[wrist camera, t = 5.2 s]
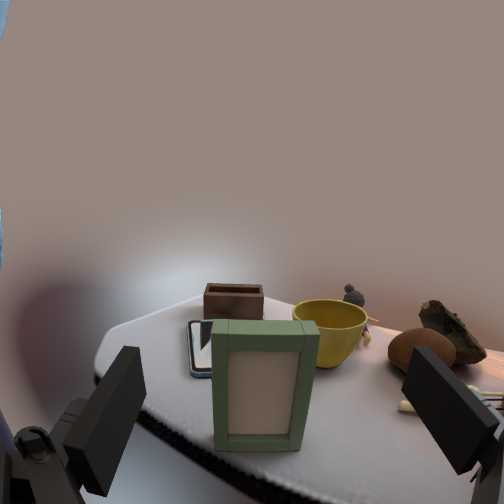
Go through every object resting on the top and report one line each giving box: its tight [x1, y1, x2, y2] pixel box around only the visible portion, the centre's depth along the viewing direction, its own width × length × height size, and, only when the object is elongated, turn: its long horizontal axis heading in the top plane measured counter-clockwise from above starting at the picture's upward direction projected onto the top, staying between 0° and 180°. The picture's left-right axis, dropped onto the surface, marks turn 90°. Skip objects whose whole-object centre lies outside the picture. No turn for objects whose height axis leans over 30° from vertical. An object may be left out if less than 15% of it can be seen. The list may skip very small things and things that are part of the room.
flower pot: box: [292, 299, 368, 368], centre depth 41 cm, size 10×10×7 cm
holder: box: [203, 283, 264, 320], centre depth 57 cm, size 10×6×4 cm, turn 92°
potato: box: [388, 328, 456, 373], centre depth 36 cm, size 7×10×7 cm
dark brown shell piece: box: [419, 300, 487, 365], centre depth 40 cm, size 16×9×7 cm, turn 177°
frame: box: [211, 319, 320, 452], centre depth 25 cm, size 8×2×13 cm, turn 92°
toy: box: [343, 284, 379, 347], centre depth 51 cm, size 10×6×15 cm
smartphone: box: [187, 319, 229, 377], centre depth 44 cm, size 7×1×15 cm
